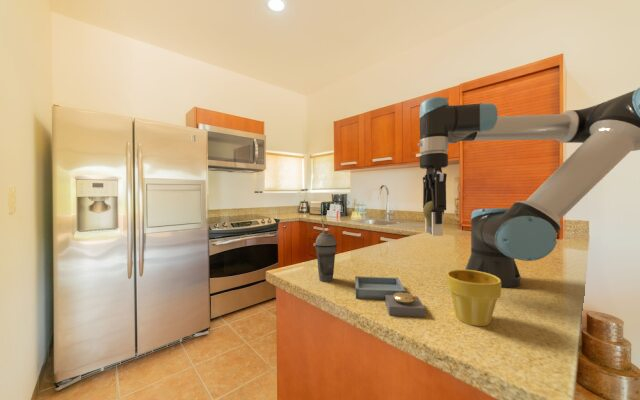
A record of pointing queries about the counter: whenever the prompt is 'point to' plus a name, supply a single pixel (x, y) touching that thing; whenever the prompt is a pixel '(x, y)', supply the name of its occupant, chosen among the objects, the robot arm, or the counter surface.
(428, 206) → the light bulb
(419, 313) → the tester
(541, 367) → the counter surface
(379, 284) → the tray
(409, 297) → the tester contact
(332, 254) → the beverage cup
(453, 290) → the plant pot
